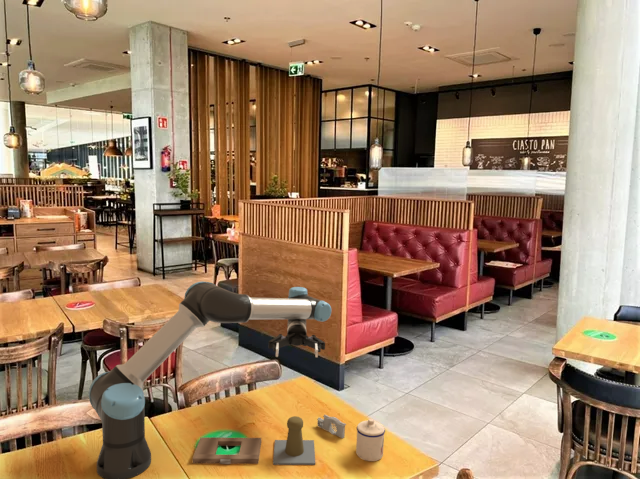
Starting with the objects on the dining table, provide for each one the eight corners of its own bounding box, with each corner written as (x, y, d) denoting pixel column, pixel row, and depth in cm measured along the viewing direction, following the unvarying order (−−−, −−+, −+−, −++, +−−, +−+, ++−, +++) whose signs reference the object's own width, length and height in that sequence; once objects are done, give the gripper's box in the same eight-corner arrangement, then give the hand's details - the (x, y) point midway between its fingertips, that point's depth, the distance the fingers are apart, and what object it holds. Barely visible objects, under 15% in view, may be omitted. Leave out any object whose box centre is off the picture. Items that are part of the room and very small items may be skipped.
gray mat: (272, 464, 147) (273, 462, 147) (274, 441, 160) (275, 439, 160) (315, 464, 147) (315, 463, 147) (313, 441, 160) (313, 440, 160)
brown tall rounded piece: (301, 457, 150) (302, 424, 149) (282, 454, 151) (283, 421, 150) (305, 447, 156) (306, 415, 154) (287, 444, 157) (288, 412, 156)
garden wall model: (316, 426, 170) (316, 410, 170) (319, 424, 172) (320, 409, 171) (342, 439, 163) (343, 423, 162) (345, 437, 164) (346, 421, 163)
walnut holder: (192, 464, 145) (192, 459, 145) (200, 441, 158) (200, 437, 158) (258, 464, 146) (258, 459, 146) (261, 442, 159) (261, 437, 159)
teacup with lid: (387, 461, 151) (389, 426, 149) (359, 463, 149) (361, 428, 148) (376, 440, 162) (377, 408, 161) (350, 442, 161) (351, 409, 159)
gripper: (328, 343, 186) (332, 364, 165) (264, 342, 185) (260, 363, 164) (329, 324, 185) (333, 343, 164) (264, 323, 184) (260, 342, 163)
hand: (296, 353), depth 164 cm, fingers open, 13 cm apart
